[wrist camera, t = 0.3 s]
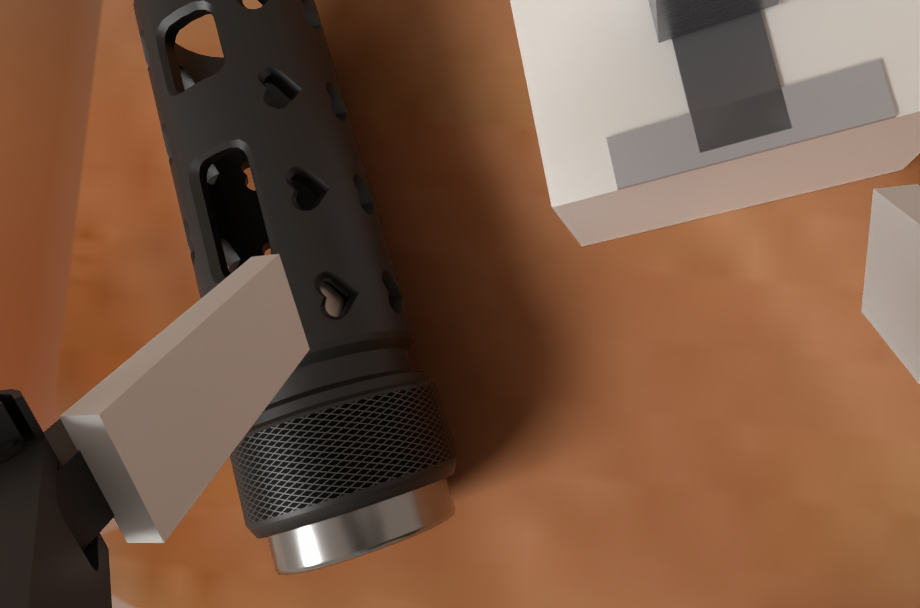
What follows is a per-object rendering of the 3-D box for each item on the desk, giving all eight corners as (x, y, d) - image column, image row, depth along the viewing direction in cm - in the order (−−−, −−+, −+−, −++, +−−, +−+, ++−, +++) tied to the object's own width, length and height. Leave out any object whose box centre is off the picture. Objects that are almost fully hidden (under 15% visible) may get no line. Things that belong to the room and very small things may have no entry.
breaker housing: (901, 170, 28) (987, 91, 20) (582, 246, 32) (551, 206, 24) (829, -74, 30) (881, -230, 22) (536, 28, 34) (494, -74, 26)
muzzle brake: (354, 19, 38) (242, -104, 28) (502, 491, 32) (425, 542, 22) (225, 89, 40) (80, -1, 31) (340, 538, 35) (208, 602, 25)
